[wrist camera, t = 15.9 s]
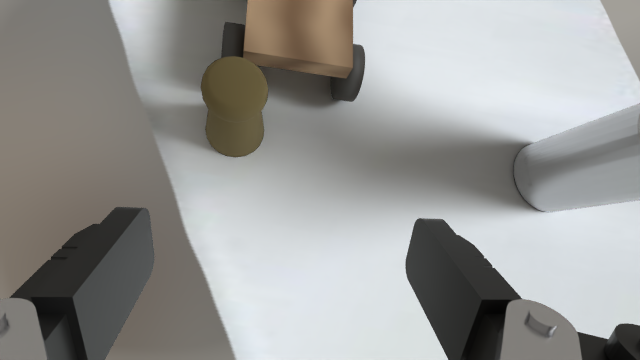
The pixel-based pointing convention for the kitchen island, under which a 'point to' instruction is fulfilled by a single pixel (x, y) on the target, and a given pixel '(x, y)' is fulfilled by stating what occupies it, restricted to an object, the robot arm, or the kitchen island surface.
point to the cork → (234, 105)
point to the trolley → (301, 40)
